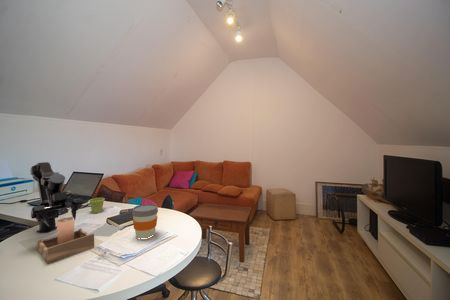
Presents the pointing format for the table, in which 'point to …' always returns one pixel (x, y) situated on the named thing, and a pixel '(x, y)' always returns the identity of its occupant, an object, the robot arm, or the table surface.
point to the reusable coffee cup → (145, 220)
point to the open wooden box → (65, 246)
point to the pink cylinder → (65, 230)
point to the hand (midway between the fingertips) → (62, 222)
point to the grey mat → (106, 230)
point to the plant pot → (96, 204)
